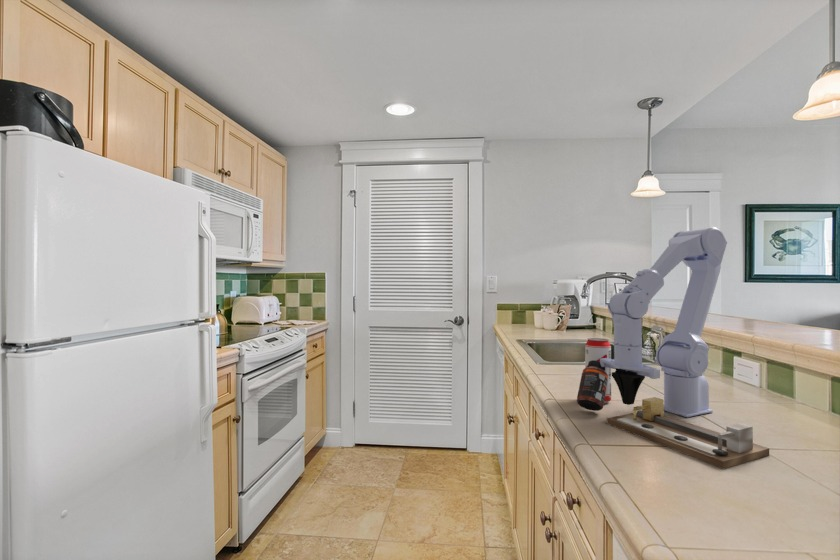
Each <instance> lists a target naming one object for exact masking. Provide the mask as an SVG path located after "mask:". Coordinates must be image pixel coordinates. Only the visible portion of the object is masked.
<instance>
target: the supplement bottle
mask: <svg viewBox="0 0 840 560" xmlns="http://www.w3.org/2000/svg"><path fill="white" fill-rule="evenodd" d="M607 382H608V375H607V373H606V372H605V367H601V364H600V361H596V360H592V361H589V363H588V367H587V368H583V370H582V373H581V377H580V381H579V387H578V392H577V395H576V396H577V397H576V403H577V404H578V406H580V407H581V408H582V409H586V410H587V411H593V412H596V411H597V412H598V411H601V410H603V408H604V405H605V404H604V400H605V394H606V388H607Z"/></svg>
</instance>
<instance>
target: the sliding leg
mask: <svg viewBox="0 0 840 560" xmlns="http://www.w3.org/2000/svg"><path fill="white" fill-rule="evenodd" d="M641 400H642V401H641V403H642V404H641V405H637V406H633V409H632V413H633V420H636V412H637V411H639V410H641V411H642V413H643V419H646V420H649V421H654V415H657V416H660V417H663V415H665V414H664V413H665V410H664V398H659V397H655V396H654V397H649V398H644V399H641Z"/></svg>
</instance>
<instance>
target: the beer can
mask: <svg viewBox="0 0 840 560" xmlns="http://www.w3.org/2000/svg"><path fill="white" fill-rule="evenodd" d="M584 347H585V348H584V350H585V351H584V358H585V359H584V367H585V368H587V367H588V363H589V361H592V360H596V361H600V359H602V358H608V359H612V345H611V344H610V342H609V339H608V338H599V337H596V338H595V337H593V338H592V337H589V338H587V341H586V343H585V346H584ZM585 368H584V369H585ZM605 372H606V373H607V375H608V382H607V388H606V394H605V400H604V405H605V404H609V402H610V401H612V368H608V367H605Z"/></svg>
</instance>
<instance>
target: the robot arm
mask: <svg viewBox="0 0 840 560" xmlns="http://www.w3.org/2000/svg"><path fill="white" fill-rule="evenodd" d="M727 244H728V242H727V240H726V237H725V236H724V233H723V232H722V231H721V229H720V228H718V227H715V226H710V227H707V228H701V229H700V228H699V229H693V230H680V231H677V232H675V233H674V234H673V236H672V237H670V238H669V239H668V246H667V247H666V248H665V250H664V251H663V252H662V253H661V254H660V256H659V257H658V259H657V260H656V261H655V262H654V263H653V265H652V266H651V267H650V269H649V268H645V269H642V270H638V271H637V272H636V273H635V275H636V276H635V277H634V278H633V279H632V280H631V281H630V282H629V284H627V285H625V286H624V287H623V290H622V291H621V292H616V293H614V294H613V295H612V297H611V298H610V300H609V303H608V304H607V309H608V312H609V313H610V315H611V317H612V318H611V321H612V323H613V347H614V348H613V354H614V355H613V357H614V358H613V359H612V358H611V359H608V358H602V359H600V364H601V367H608V368H611V370H612V369H614V370H615V371H611V378H613V380H614V381H615V384H616V385H617V388H618V391H619V393H620V398H621V401H622V404H625V405H627V406H629V405H634V404H635V401H636V397H637V393H638V392H639V391H638V390H639V388H640V386H641V385H642V383H643V381H644V380H645V378H646V377H647V378H649V379H652V380H657V379H661V372H663V400H664V412H668V413H670V414H674V415H675V414H676V415H678V416H681V417H685V418H690V417H696V416H700V415H705V414H709V413H713V412H714V410H713V409H711V408H710V396H709V395H710V390H709V389H710V388H709V387H710V386H709V385H710V384H709V382H708V380H707V378H706V377H705V376H704V375H703V374H705V372H706V371H707V369H708V367H709V350H710V347H709V345H708V344H707V343H706V342H705V341H704V340H703V339H702V338H701V337H702V334H703V330H704V327H705V323H706V321H707V317H708V313H709V310H710V306H711V303H712V300H713V297H714V293H715V290H716V286H717V283H718V279H719V275H720V272H721V268H722V267H721V266H722V261H723V258H724V254H725V251H726V248H727ZM681 262H682V263H683V264H684V265H685V267H688V268H690V270H691V274H690V278H689V282H688V284H687V288H686V291H685V295H684V298H683V301H682V305H681V308H680V312H679V314H678V318H677V320H676V321H677V322H676V325H675V327H674V330H673V331H672V332H670V333H668V334H666V335H665V336H664V337H663V339H662V342H661V344H660V345H659V346H658V347H657V349H656V352H655V359H656V363H657V364H658V366H659V367H661V368H656V367H652V366H650V365H647V364H643V340H642V339H643V335H642V331H643V330H642V329H643V328H642V326H643V325H642V320H643V319H642V317H643V316H645V315H647V313H648V310H649V304H650V303H651V300H652V299H653V298H654V297H655V296H656V295H657V293H658V292H659V291H660V290H661V289H662V288H663V287H664V286H665V280H664V278H665V277H666V276H667V275H669V274H670V272H671V271H673V270H674V269H675V268H676V267H677V266H678V265H679V264H680V263H681Z"/></svg>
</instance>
